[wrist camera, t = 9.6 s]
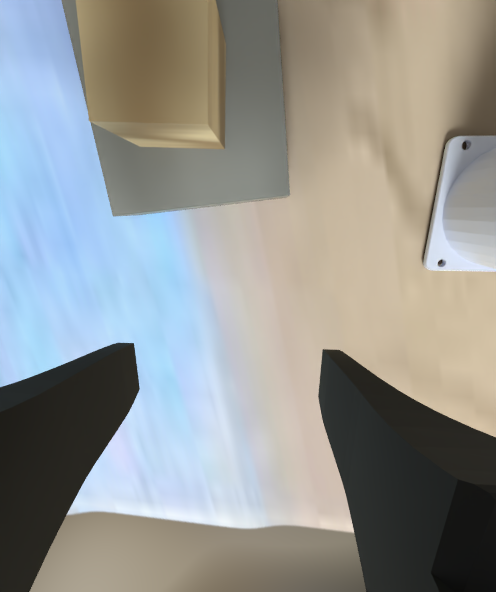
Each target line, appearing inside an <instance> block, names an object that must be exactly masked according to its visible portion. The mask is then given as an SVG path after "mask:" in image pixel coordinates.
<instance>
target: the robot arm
mask: <svg viewBox="0 0 496 592" xmlns="http://www.w3.org/2000/svg"><path fill="white" fill-rule="evenodd" d="M463 142H465V143H466V144H467V147H466V149H465V150H463V149H462V144H463ZM441 259H442V264H441V265H440V266H438V261H439V260H441ZM423 265H424V267H425V268H426V269H428V270H437V271H495V272H496V136H456V137H453V138H451V139H450V140H449V141H448V142H447V143H446V146H445V150H444V156H443V161H442V166H441V172H440V177H439V182H438V187H437V193H436V198H435V203H434V208H433V214H432V219H431V224H430V229H429V235H428V240H427V245H426V251H425V256H424V261H423ZM139 389H140V388H139V380H138V372H137V364H136V356H135V348H134V343H116V344H112V345H110V346H107V347H104V348H102V349H99V350H97V351H94V352H92V353H89V354H87V355H85V356H82V357H80V358H78V359H75V360H73V361H70V362H68V363H66V364H63V365H61V366H58V367H56V368H53V369H51V370H48V371H45V372H43V373H40V374H38V375H35V376H33V377H30V378H27V379H24V380H21V381H19V382H16V383H13V384H10V385H6V386H3V387H0V592H29V591H30V589H31V587H32V585H33V583H34V580H35V578H36V576H37V574H38V572H39V570H40V568H41V566H42V563H43V561H44V559H45V557H46V555H47V553H48V550H49V548H50V546H51V544H52V542H53V540H54V538H55V536H56V534H57V532H58V530H59V528H60V526H61V524H62V523H63V521H64V518H65V517H66V515H67V513H68V511H69V509H70V507H71V505H72V503H73V501H74V499H75V498H76V496H77V494H78V492H79V490H80V488H81V486H82V484H83V483H84V481H85V479H86V477H87V476H88V474H89V472H90V471H91V469H92V468H93V466H94V464H95V463H96V461H97V460H98V458H99V457H100V455H101V454H102V452H103V451H104V449H105V448H106V446H107V445H108V443H109V442H110V440H111V439H112V437H113V436H114V434H115V433H116V431H117V430H118V428H119V427H120V425H121V424H122V422H123V420H124V419H125V417H126V416H127V414H128V413H129V411H130V409H131V407H132V405H133V403H134V400H135V398H136V396H137V394H138V391H139ZM318 397H319V403H320V408H321V414H322V419H323V423H324V426H325V429H326V433H327V436H328V439H329V442H330V445H331V448H332V451H333V454H334V457H335V460H336V464H337V467H338V470H339V473H340V476H341V479H342V482H343V486H344V489H345V493H346V497H347V501H348V505H349V510H350V514H351V519H352V523H353V528H354V533H355V537H356V542H357V547H358V551H359V557H360V562H361V566H362V571H363V576H364V582H365V586H366V592H496V437H493V436H491V435H488V434H486V433H483V432H481V431H478V430H476V429H473V428H471V427H469V426H467V425H465V424H462V423H460V422H458V421H456V420H453V419H451V418H449V417H447V416H445V415H443V414H441V413H439V412H436V411H434V410H433V409H431V408H429V407H427V406H425V405H423V404H421V403H419V402H418V401H416V400H414V399H412V398H410V397H409V396H407V395H405V394H403V393H402V392H400V391H399V390H397V389H395V388H394V387H392V386H391V385H389V384H388V383H386V382H385V381H383V380H382V379H380V378H379V377H377V376H376V375H374V374H373V373H371V372H370V371H369V370H367V369H366V368H364V367H363V366H362V365H360V364H359V363H358V362H356V361H355V360H354V359H352V358H351V357H349V356H348V355H347V354H345V353H344V352H342V351H340V350H324V349H323V353H322V364H321V375H320V385H319V396H318Z"/></svg>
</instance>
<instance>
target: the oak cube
mask: <svg viewBox="0 0 496 592" xmlns="http://www.w3.org/2000/svg"><path fill="white" fill-rule="evenodd" d="M76 8H77V17H78V26H79V34H80V43H81V52H82V61H83V70H84V79H85V88H86V97H87V106H88V115H89V121H90V122H92V123H94V124H96V125H98V126H100V127H102V128H104V129H106V130H108V131H110V132H112V133H114V134H116V135H118V136H120V137H122V138H124V139H126V140H128V141H130V142H132V143H134V144H136V145H138V146H140V147H164V148H198V149H225V92H226V42H225V37H224V33H223V29H222V25H221V21H220V17H219V12H218V8H217V4H216V0H76Z"/></svg>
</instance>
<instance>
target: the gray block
mask: <svg viewBox="0 0 496 592" xmlns="http://www.w3.org/2000/svg"><path fill="white" fill-rule="evenodd" d="M62 4H63V9H64V13H65V17H66V21H67V25H68V30H69V34H70V38H71V42H72V46H73V50H74V55H75V59H76V63H77V67H78V71H79V76H80V80H81V84H82V88H83V92H84V97H85V101H86V105H87V97H86V88H85V79H84V70H83V61H82V52H81V43H80V34H79V26H78V17H77V8H76V0H62ZM216 4H217V8H218V12H219V17H220V21H221V25H222V29H223V33H224V37H225V42H226V92H225V149H198V148H164V147H140V146H138V145H136V144H134V143H132V142H130V141H128V140H126V139H124V138H122V137H120V136H118V135H116V134H114V133H112V132H110V131H108V130H106V129H104V128H102V127H100V126H98V125H96V124H94V123H92V122H91V126H92V130H93V134H94V139H95V143H96V147H97V151H98V155H99V160H100V164H101V168H102V172H103V176H104V180H105V185H106V189H107V193H108V197H109V201H110V206H111V210H112V214H113V216H130V215H145V214H153V213H161V212H170V211H178V210H187V209H195V208H204V207H212V206H221V205H229V204H237V203H246V202H254V201H263V200H271V199H280V198H286V197H288V196H289V195H290V189H289V174H288V158H287V143H286V127H285V112H284V96H283V80H282V65H281V49H280V34H279V18H278V3H277V0H216ZM87 109H88V106H87Z"/></svg>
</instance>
